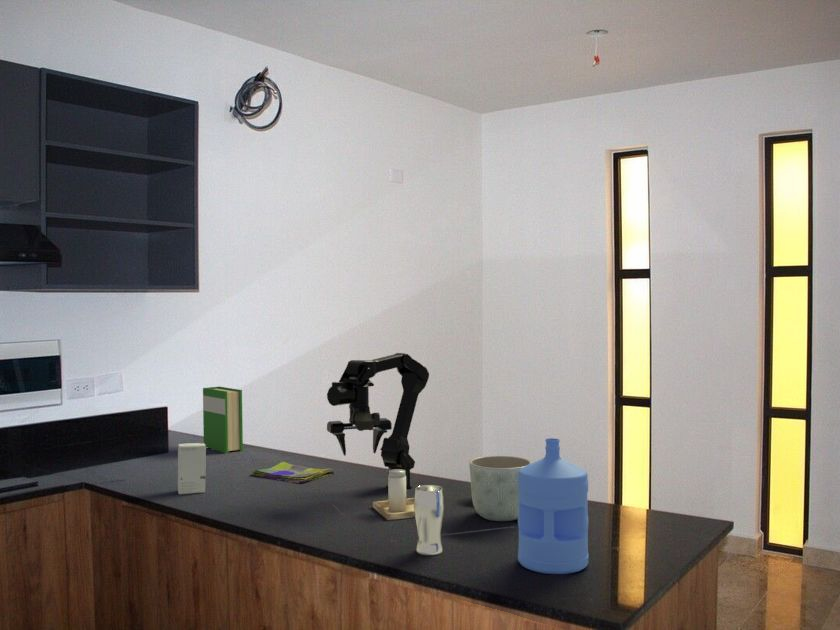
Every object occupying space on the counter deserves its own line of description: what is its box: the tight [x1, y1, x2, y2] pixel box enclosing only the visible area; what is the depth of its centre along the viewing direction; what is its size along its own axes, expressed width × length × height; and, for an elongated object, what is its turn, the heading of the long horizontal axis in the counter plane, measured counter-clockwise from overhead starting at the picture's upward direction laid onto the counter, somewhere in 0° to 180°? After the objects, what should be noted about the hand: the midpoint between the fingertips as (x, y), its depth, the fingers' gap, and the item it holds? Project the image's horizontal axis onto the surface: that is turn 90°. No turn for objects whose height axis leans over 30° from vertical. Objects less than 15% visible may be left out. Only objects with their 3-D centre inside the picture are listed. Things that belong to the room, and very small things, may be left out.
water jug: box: [517, 437, 590, 575], centre depth 180 cm, size 16×16×28 cm
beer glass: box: [414, 484, 445, 556], centre depth 190 cm, size 7×7×15 cm
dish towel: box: [250, 461, 335, 484], centre depth 272 cm, size 18×24×3 cm
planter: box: [468, 455, 533, 522], centre depth 218 cm, size 17×17×15 cm
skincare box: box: [177, 442, 207, 495], centre depth 250 cm, size 8×6×15 cm
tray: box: [372, 497, 415, 521], centre depth 223 cm, size 14×14×2 cm
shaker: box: [387, 469, 407, 513], centre depth 224 cm, size 5×5×11 cm
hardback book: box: [202, 386, 244, 454], centre depth 318 cm, size 18×7×24 cm, turn 43°
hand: (359, 454), depth 241 cm, fingers open, 9 cm apart
